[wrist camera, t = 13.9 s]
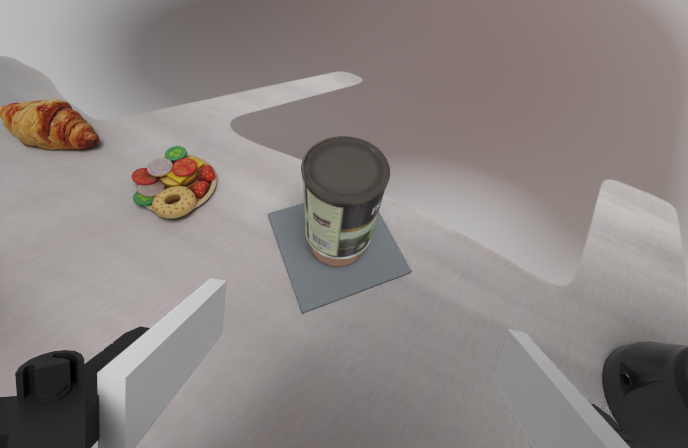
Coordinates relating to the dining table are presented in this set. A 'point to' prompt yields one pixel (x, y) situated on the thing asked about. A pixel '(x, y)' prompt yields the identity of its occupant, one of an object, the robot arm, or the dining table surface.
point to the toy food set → (174, 183)
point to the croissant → (48, 125)
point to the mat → (326, 281)
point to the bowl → (333, 261)
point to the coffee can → (342, 194)
